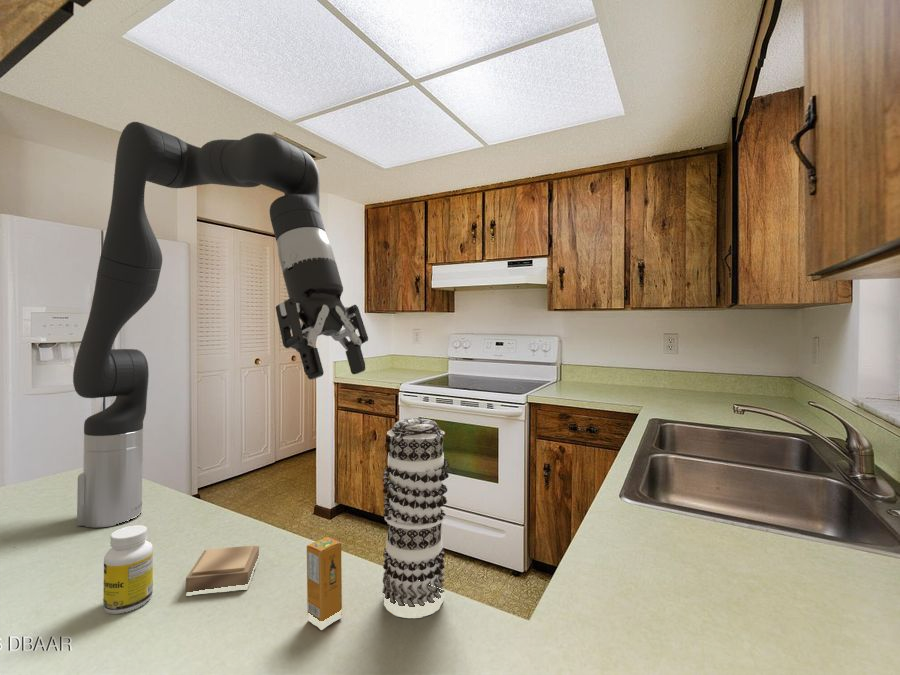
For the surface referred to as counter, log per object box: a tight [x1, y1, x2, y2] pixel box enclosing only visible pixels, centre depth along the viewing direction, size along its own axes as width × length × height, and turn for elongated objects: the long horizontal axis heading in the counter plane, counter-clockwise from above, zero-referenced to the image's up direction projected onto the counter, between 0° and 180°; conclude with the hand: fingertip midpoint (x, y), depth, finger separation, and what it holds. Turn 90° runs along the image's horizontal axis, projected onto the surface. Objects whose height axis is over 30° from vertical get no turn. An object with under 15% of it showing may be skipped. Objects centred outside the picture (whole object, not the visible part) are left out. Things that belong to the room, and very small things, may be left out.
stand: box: [185, 545, 260, 593], centre depth 66 cm, size 8×8×3 cm
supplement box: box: [306, 536, 343, 621], centre depth 56 cm, size 3×3×10 cm
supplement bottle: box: [102, 524, 154, 615], centre depth 59 cm, size 5×5×10 cm
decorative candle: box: [382, 417, 450, 607], centre depth 61 cm, size 9×9×25 cm
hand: (338, 375), depth 60 cm, fingers open, 8 cm apart
